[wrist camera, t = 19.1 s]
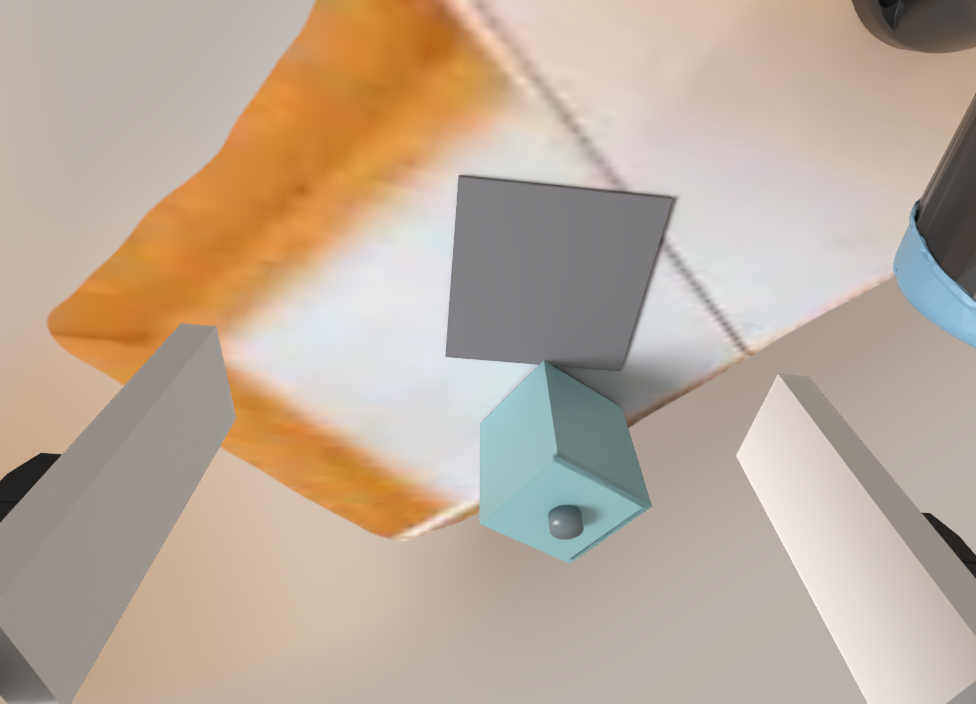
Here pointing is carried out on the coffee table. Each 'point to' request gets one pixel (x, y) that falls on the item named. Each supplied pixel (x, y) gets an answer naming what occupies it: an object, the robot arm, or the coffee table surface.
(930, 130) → the coffee table surface
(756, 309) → the coffee table surface
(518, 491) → the teal box with knob
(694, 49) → the coffee table surface
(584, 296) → the mat
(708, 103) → the coffee table surface
